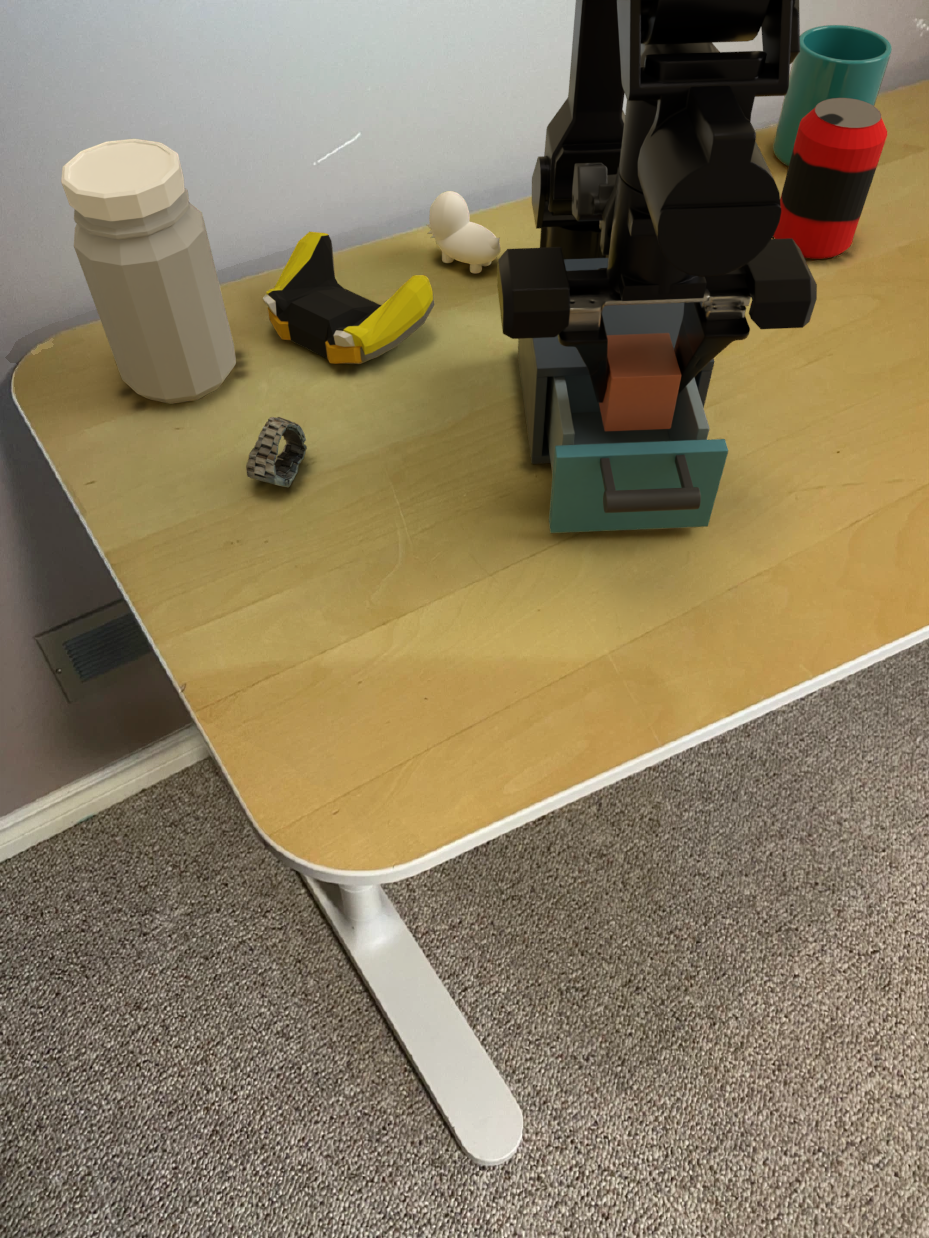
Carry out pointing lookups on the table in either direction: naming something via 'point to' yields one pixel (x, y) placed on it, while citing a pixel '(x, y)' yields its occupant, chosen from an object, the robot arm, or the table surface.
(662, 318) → the small filing cabinet
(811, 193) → the soda can
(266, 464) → the wristwatch
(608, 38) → the robot arm
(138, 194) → the jar
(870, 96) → the cup
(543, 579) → the table surface
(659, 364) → the block
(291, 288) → the gaming controller
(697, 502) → the drawer
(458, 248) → the toy creature
